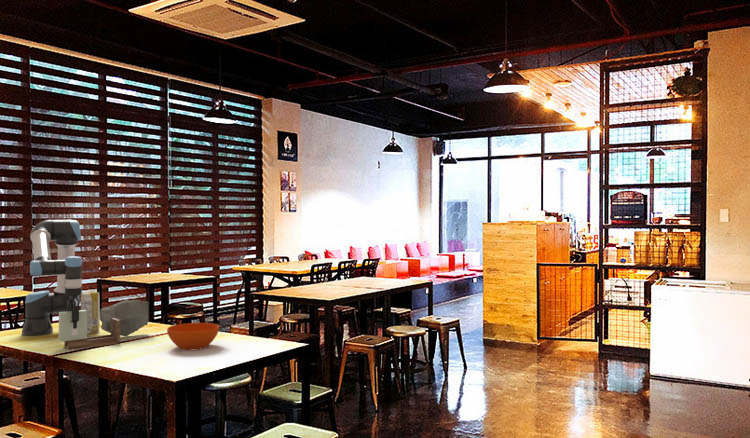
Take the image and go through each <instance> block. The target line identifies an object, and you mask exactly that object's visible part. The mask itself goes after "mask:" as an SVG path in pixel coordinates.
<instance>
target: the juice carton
mask: <svg viewBox="0 0 750 438" xmlns="http://www.w3.org/2000/svg"><path fill="white" fill-rule="evenodd" d="M100 301H101V300H100V292H99V291H98V292H96V290H95V289H91V290H89V291H84V292H83V291H82V294H81V295H80V310H86V311H87V335H90V334H91V335H92V334H95V333H99V332H100V311H101V308H100V306H101V305H100V304H101V303H100Z"/></svg>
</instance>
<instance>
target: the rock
mask: <svg viewBox="0 0 750 438" xmlns="http://www.w3.org/2000/svg"><path fill="white" fill-rule="evenodd" d="M149 303H150V302H148V301H147V300H141V299H131V300H129V299H125V300H122V301H119V302H117V303H115V304H112V305H110V306H108V307H107V306H104V307H103V308H100V316H99V322H101V325H100V328H101V330H103V331H105V333H109V334H111V318H116V319H118V320H120V337H128V336H129V335H131V334H133V333H135V332H138V331H139V330H140V329H141V328H144V327H145V326H147V325H148V324H149V319H150V318H149V317H150V316H149V313H150V312H149Z"/></svg>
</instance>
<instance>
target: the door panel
mask: <svg viewBox="0 0 750 438" xmlns="http://www.w3.org/2000/svg"><path fill="white" fill-rule="evenodd" d="M70 321H72V311H68V312H59V313H58V341H59V342H61V343H62V342H64V341H71V340H80V339H87V337H88V334H87V311H86V310H81V309H79V321H78V335H71V322H70Z"/></svg>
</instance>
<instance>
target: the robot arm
mask: <svg viewBox="0 0 750 438" xmlns="http://www.w3.org/2000/svg"><path fill="white" fill-rule="evenodd" d="M29 237H30V241H31V242H32V250H33V260H31V261H30V262H29V263H30V264H29V273H30V274H29V275H31V276H39V277H41V276H57V277H56V287H55V288H54V289H53V292H50V290H40V291H34V292H31V293H28V294H27V295H26V296H25V321H24V323H23V327H22V328H21V335H22V336H42V335H48V334H51V333H53V332H54V328H53V325H52V322H51V319H50V314H59V312H68V311H72V321H70V322H71V335H78V321H79V310H80V305H81V301H80V297H81V294H82V293H83V288H82V287H83V278H82V274H83V273H82V270H83V269H82V268H83V260H82V259H83V258H82V257H81V256H75V255H76V254H75V253H76V252H75V251H76V246H77V245H78V244H79V241H82V234H81V228H80V222H79V221H78V220H75V219H45V220H43V221H41V222H38V223H37V224H36V225H35V226H34V227H33V228H32V229H31V231H30V236H29ZM51 241H52V242H54V245H56V247H57V259H54V260H53V259H52V257H51V248H50V242H51Z"/></svg>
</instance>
